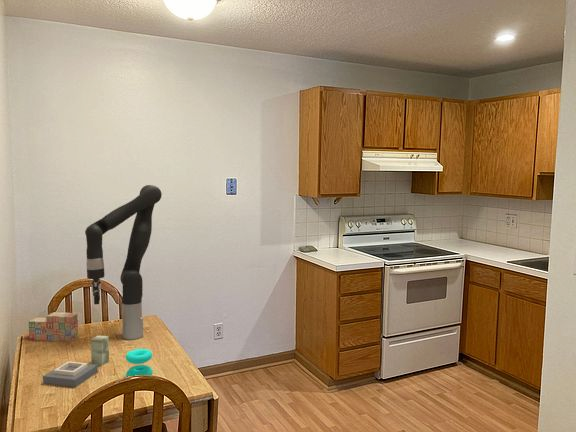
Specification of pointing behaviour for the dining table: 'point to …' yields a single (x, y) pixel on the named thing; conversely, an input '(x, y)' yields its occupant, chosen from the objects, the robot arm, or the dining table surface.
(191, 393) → the dining table surface
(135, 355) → the donuts
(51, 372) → the plinth
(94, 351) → the pillar
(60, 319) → the stack of blocks
